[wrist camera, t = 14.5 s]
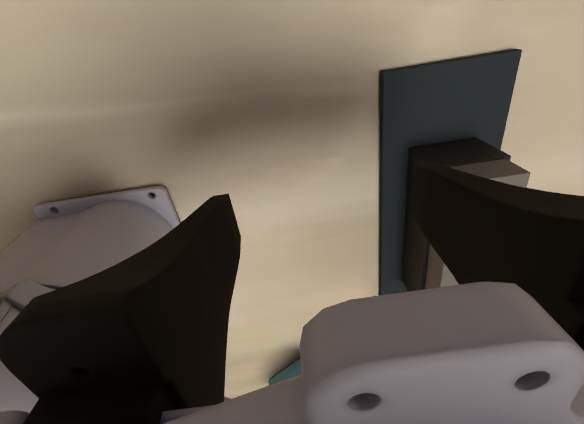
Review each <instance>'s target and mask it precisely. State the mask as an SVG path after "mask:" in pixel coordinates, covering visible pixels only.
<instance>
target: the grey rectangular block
mask: <svg viewBox="0 0 584 424" xmlns="http://www.w3.org/2000/svg"><path fill="white" fill-rule="evenodd" d="M510 158H511V156H510V155H508V154H506V153H504V152H503V151H501V150H499V149H497V148H495V147H493V146H491V145H490V144H488V143H486V142H484V141H482V140H480V139H478V138H476V137H474V138H468V139H461V140H455V141H448V142H442V143H435V144H429V145H422V146H416V147H410V148H409V162H408V180H407V198H406V216H405V233H404V251H403V269H402V281H403V283H404V285H405V287H406V289H407V291H408V292H410V291H417V290H424V289H432V288H439V287H446V286H454V285H459V284H458V283H457V281H456V280H455V278H454V276H453V275H452V273H451V272H450V271H449V269H448V268H447V266H446V265H445V264H444V262H443V261H442V260H441V258H440V257H439V255H438V254H437V253H436V251H435V250H434V249H433V247H432V246H431V244H430V243H429V242H428V240H427V239H426V237H425V236H424V235H423V233H422V232H421V230H420V228H419V226H418V224H417V222H416V220H415V218H414V216H413V214H412V212H411V209H412V194H413V180H414V166H415V165H422V164H428V163H433V164H439V165H443V166H447V167H450V168H454V169H457V170H460V171H463V172H467V173H470V174H473V175H477V176H480V177H484V178H487V179H491V180H495V181H499V182H503V183H507V184H511V185H515V186H520V187H524V188H526V187H527V184H528V180H529V177H530V172H528V171H527V170H525V169H523V168H521V167H519V166H518V165H516V164H514V163H512V162H510Z"/></svg>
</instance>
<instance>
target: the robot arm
mask: <svg viewBox="0 0 584 424" xmlns="http://www.w3.org/2000/svg"><path fill="white" fill-rule="evenodd" d="M150 192H153V193H154V194H155V195H156V196H152V195H151V194H150ZM54 207H55V208H57V209H58V210H56V209H55V208H54ZM33 211H34V213H35V215H36V216H37V218H38V219H39V221H38V222H37V223H35V224H34V225H33V226H32V227H30V228H29V229H28V230H27V231H25V232H24V233H23V234H22V235H20V236H19V237H18V238H17V239H15V240H14V241H13V242H12V243H11V244H9V245H8V246H7V247H6V248H4V249H3V250H2V251H1V252H0V424H584V196H577V195H568V194H560V193H553V192H546V191H541V190H535V189H530V188H524V187H520V186H515V185H511V184H507V183H503V182H499V181H495V180H491V179H487V178H484V177H480V176H477V175H473V174H470V173H467V172H463V171H460V170H457V169H454V168H450V167H447V166H443V165H439V164H433V163H428V164H422V165H415V166H414V180H413V194H412V209H411V212H412V214H413V216H414V218H415V220H416V222H417V224H418V226H419V228H420V230H421V232H422V233H423V235H424V236H425V237H426V239H427V240H428V242H429V243H430V244H431V246H432V247H433V249H434V250H435V251H436V253H437V254H438V255H439V257H440V258H441V260H442V261H443V262H444V264H445V265H446V266H447V268H448V269H449V271H450V272H451V273H452V275H453V276H454V278H455V280H456V281H457V283H458V284H459V285H454V286H446V287H439V288H432V289H424V290H417V291H410V292H403V293H395V294H388V295H381V296H373V297H366V298H359V299H352V300H348V301H345V302H342V303H339V304H336V305H333V306H330V307H327V308H324V309H323V310H321V311H320V312H319V313H318V314H317V315H316V316H315V317H314V318H313V319H311V320H310V321H309V322H308V323H307V324H306V325H305V326H304V327H303V331H302V336H301V341H300V358H301V371H302V374H300V375H297V376H295V377H292V378H289V379H286V380H283V381H281V382H278V383H275V384H272V385H269V386H267V387H264V388H261V389H258V390H255V391H253V392H250V393H247V394H244V395H242V396H239V397H236V398H233V399H230V400H228V401H225V402H224V386H225V362H226V346H227V332H228V320H229V311H230V304H231V299H232V294H233V289H234V284H235V280H236V275H237V270H238V264H239V259H240V244H241V235H240V232H239V228H238V225H237V221H236V218H235V214H234V211H233V207H232V204H231V200H230V197H229V194H224V195H217V196H213V197H211V198H210V199H208V200H207V201H206V202H205V203H203V204H202V205H201V206H200V207H199V208H198V209H197V210H195V211H194V212H193V213H192V214H191V215H190V216H188V217H187V218H186V219H185V220H184V221H182V222H181V223H180V222H179V219H178V217H177V214H176V212H175V209H174V207H173V204H172V202H171V199H170V197H169V194H168V192H167V190H166V188H164V187H162V186H153V187H147V188H140V189H133V190H127V191H120V192H114V193H107V194H101V195H94V196H88V197H81V198H75V199H68V200H62V201H55V202H49V203H42V204H38V205H37V206H35V207H34V209H33Z"/></svg>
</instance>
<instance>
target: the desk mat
mask: <svg viewBox="0 0 584 424" xmlns="http://www.w3.org/2000/svg"><path fill="white" fill-rule="evenodd" d="M521 52H522V50H520V49H513V50H507V51H501V52H495V53H488V54H482V55H476V56H470V57H464V58H458V59H452V60H445V61H439V62H433V63H427V64H421V65H415V66H408V67H402V68H396V69H390V70H384V71H381V72H380V271H379V296H381V295H388V294H395V293H403V292H408V291H407V289H406V287H405V285H404V283H403V281H402V269H403V251H404V233H405V216H406V198H407V180H408V162H409V148H410V147H416V146H422V145H429V144H435V143H442V142H448V141H455V140H461V139H468V138H474V137H476V138H478V139H480V140H482V141H484V142H486V143H488V144H490V145H491V146H493V147H495V148H497V149H499V150H500V149H501V144H502V139H503V135H504V130H505V126H506V121H507V116H508V112H509V107H510V103H511V98H512V93H513V89H514V84H515V80H516V75H517V70H518V66H519V61H520V57H521Z"/></svg>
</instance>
